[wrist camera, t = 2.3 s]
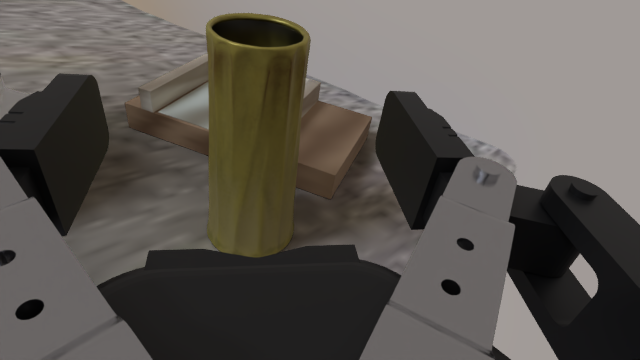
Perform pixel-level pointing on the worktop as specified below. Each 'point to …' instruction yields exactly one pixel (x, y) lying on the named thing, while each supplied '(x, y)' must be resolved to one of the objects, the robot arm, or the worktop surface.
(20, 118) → the robot arm
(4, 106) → the medicine bottle
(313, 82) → the dock
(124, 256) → the worktop surface
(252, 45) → the vase
